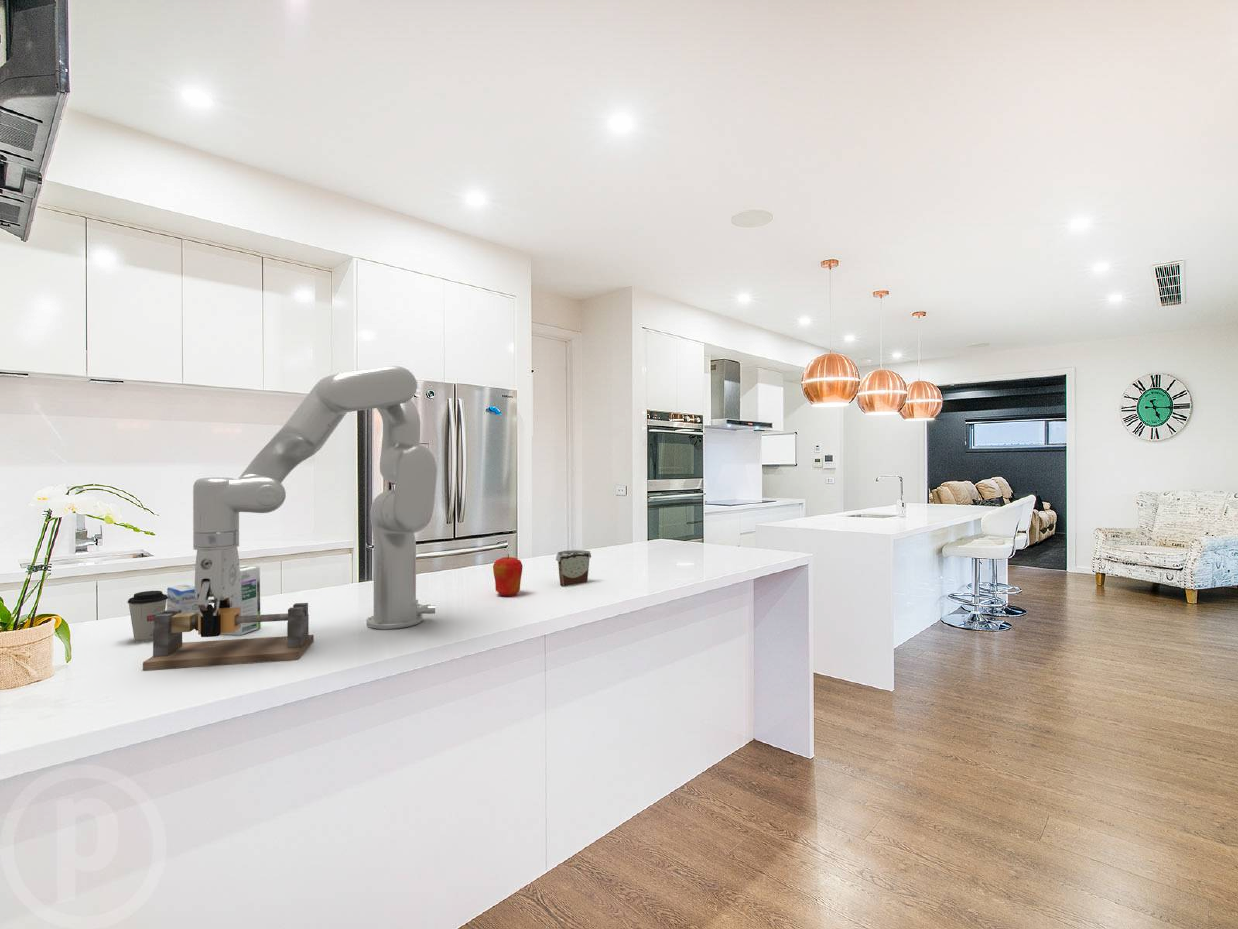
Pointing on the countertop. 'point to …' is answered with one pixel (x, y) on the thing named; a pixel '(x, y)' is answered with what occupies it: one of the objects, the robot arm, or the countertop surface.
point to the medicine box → (182, 599)
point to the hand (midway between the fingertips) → (216, 631)
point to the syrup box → (248, 598)
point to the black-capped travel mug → (145, 613)
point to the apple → (507, 575)
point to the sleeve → (226, 620)
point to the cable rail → (226, 641)
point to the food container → (573, 567)
